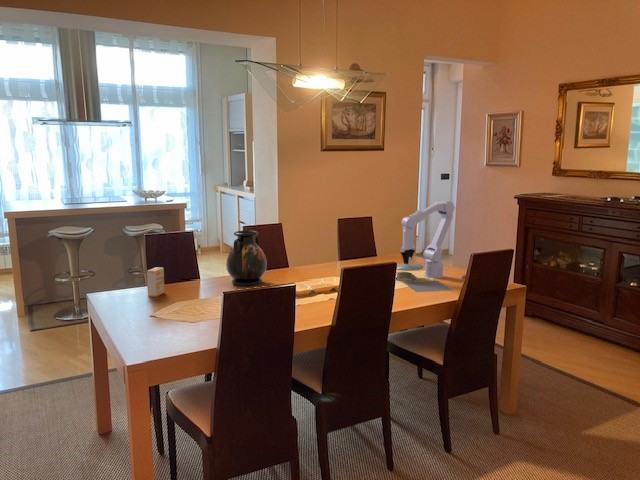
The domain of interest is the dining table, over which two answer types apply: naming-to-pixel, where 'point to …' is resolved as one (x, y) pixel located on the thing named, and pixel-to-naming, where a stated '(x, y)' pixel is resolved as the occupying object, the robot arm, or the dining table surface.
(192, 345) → the dining table surface
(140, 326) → the dining table surface
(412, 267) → the lid
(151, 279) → the supplement box
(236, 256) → the amphora vase
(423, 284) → the mat
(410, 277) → the decorative bowl
